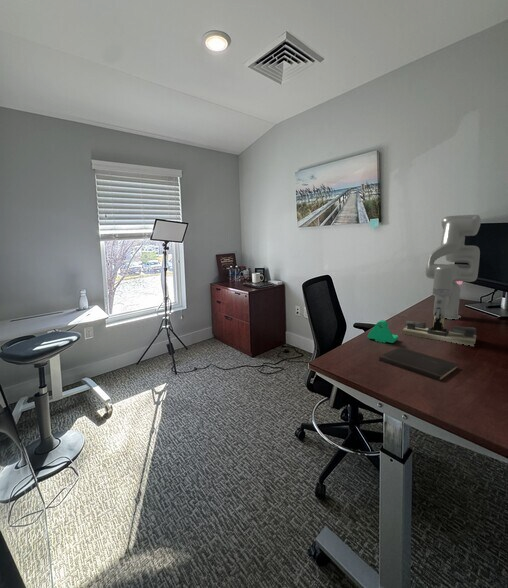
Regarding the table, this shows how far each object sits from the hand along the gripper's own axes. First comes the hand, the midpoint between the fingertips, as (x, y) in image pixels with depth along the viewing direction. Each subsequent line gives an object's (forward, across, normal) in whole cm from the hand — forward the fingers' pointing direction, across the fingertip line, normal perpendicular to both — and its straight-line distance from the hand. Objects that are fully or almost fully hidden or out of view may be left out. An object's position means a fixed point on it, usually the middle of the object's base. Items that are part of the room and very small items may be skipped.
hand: (438, 328), depth 147 cm
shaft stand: (+4, 0, 0) cm, 4 cm away
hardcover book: (+5, -40, +1) cm, 40 cm away
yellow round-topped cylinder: (+1, 0, 0) cm, 1 cm away
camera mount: (+5, -20, +20) cm, 28 cm away
